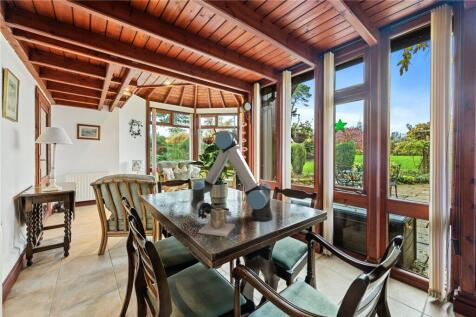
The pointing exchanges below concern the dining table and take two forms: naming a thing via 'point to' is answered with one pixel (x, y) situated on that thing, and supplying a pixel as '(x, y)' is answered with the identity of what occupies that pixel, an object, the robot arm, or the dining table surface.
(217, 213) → the birch sleeve
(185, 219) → the dining table surface
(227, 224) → the base plate
